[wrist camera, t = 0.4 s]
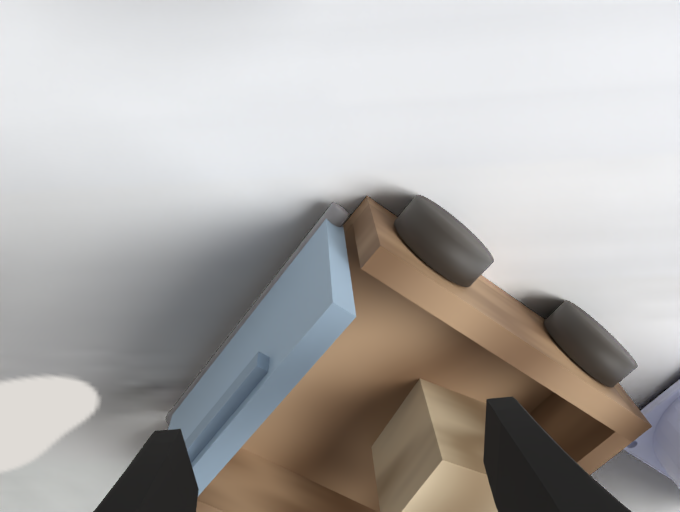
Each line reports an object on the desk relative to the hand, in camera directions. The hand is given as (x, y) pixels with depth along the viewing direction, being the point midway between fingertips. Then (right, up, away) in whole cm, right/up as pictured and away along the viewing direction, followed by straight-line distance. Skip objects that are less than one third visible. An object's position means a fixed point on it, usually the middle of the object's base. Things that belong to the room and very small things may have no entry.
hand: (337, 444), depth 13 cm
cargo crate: (+5, -4, +12) cm, 14 cm away
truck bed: (+2, -2, +12) cm, 12 cm away
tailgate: (-4, +2, +9) cm, 10 cm away
